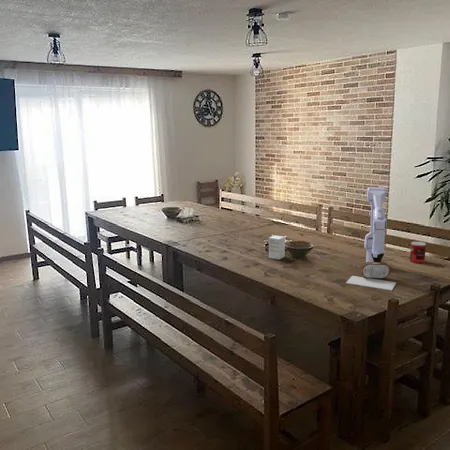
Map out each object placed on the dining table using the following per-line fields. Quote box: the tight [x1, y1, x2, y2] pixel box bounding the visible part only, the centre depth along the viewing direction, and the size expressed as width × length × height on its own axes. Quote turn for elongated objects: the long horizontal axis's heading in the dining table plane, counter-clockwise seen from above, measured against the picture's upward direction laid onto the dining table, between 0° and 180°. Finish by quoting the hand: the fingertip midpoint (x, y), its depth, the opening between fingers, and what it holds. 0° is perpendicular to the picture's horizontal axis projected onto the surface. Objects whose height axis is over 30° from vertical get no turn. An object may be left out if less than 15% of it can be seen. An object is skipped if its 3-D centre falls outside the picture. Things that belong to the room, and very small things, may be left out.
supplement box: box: [268, 235, 286, 260], centre depth 270 cm, size 7×7×13 cm
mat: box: [345, 275, 397, 292], centre depth 225 cm, size 12×22×1 cm, turn 60°
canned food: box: [409, 241, 427, 264], centre depth 259 cm, size 8×8×11 cm
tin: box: [359, 261, 391, 280], centre depth 231 cm, size 15×3×8 cm, turn 92°
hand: (376, 267), depth 235 cm, fingers closed
